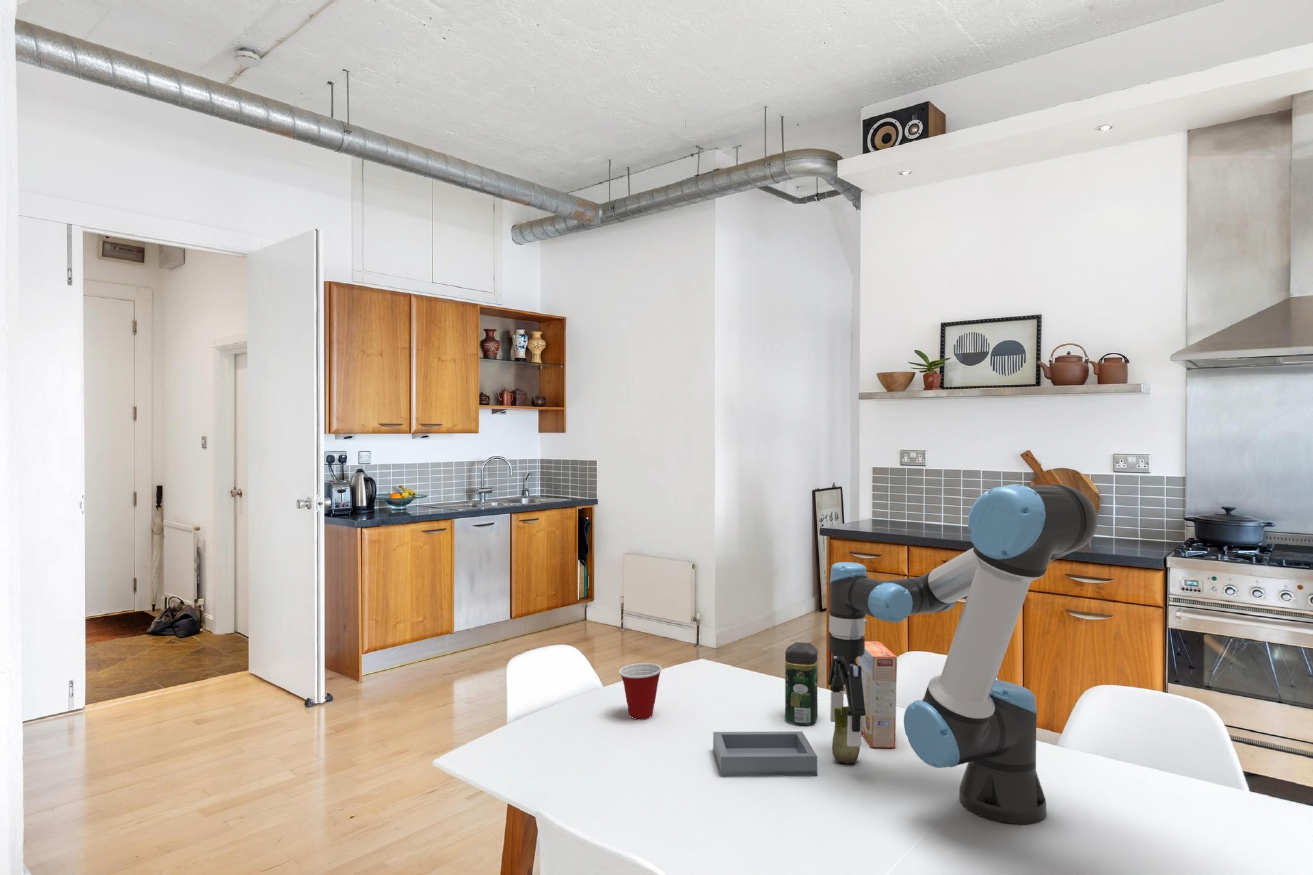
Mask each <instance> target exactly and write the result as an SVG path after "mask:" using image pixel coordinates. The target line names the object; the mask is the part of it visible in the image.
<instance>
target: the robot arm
mask: <svg viewBox="0 0 1313 875" xmlns="http://www.w3.org/2000/svg"><path fill="white" fill-rule="evenodd" d="M1097 527H1098V514H1097V511H1096V508H1095V506H1094V504H1093V502H1092V501H1091V499H1089V498H1088V496H1086V495H1085V493H1083V492H1082V491H1080V490H1078V489H1077V488H1074V487H1072V486H1069V485H1066V484H1038V485H1037V484H1036V485H1035V484H1033V485H1032V484H1030V485H1028V484H1027V485H1023V484H1017V483H1016V484H1015V483H1014V484H1008V485H1007V484H1006V485H1003V486H998V487H992V488H991V489H988V490H986V491H985V492H984V493H982V494H981V495H980V496H979V497H978V498H977V499H976V500H975V501H974V503H973V505H972V507H971V509H970V511H969V514H968V517H967V529H968V531H970V534H969V538H970V541H971V544H973V547H972V548H970V549H968V550H966V551H964V552H963V553H961V554H959V555H957V556H956V557H953V558H951V559H950V560H948V561H946V562H945V563H943V564H940V565H939V566H937V567H936V568H934V569H932V570H930V571H929V572H926V573H925V574H923V575H921V576H919V577H910V578H909V577H907V578H897V579H886V580H880V579H876V578H872V577H868V574H867V567H866V566H865V565H863V564H862V563H858V562H851V561H850V562H846V561H843V562H835V563H833V564H832V565H831V568H830V575H829V576H830V577H829V619H828V620H829V621H828V622H829V623H828V632H829V633H830V635H829V636H828V637H829V638H828V651H829V653H831V654H832V658H831V662H830V664H831V665H830V669H829V675H828V679H827V680H828V682H827V685H828V686H829V690H830V708H829V710H830V713H829V714H830V718H829V719H830V720H829V721H830V722H831V723H835V714H834V708H837V707H840V708H841V709H842V707H843V706H844V692H845V694H846V700H847V706H848V707H849V712H847V713H846V715H847V716H848V729H847V745H848V746H860V747H862V733H861V727H862V716H865V715H866V712H865V704H864V695H863V686H862V668H861V666H858V663H857V659H858V657H859V656H862V655H863V654H864V653H865V642H866V638H865V637H864V635H865V634H866V627H865V626H866V625H867V624H868V620H867V619H866V615H867V616H870V617H873V618H876V619H878V620H880V621H882V622H890V623H893V624H894V623H896V624H897V623H902V622H903V621H904V620H905V619H907V618H908V617H909V616H913V615H914V616H915V615H922V614H923V615H925V614H938V613H942V612H945V611H949V610H951V609H952V608H954V607H955V605H956V603H957V601H959V600H962V599H963V598H965V597H966V600H965V602H964V605H963V608H962V611H961V614H960V618H959V620H958V623H957V626H956V629H955V632H954V636H953V638H952V642H951V644H950V647H949V649H948V653H947V655H946V659H945V662H944V665H943V667H942V672H941V673H940V675H937V676H933V677H931V679H929V682H928V685H927V688H926V690H925V692H924V696H923V698H922V700H920V699H917V700H915V701H913V702H912V703H910V704H908V705H907V707H906V709H905V711H904V714H903V727H904V732H905V735H906V737H907V741H908V743H909V745H910V748H912V750H913V751H914V753H915V754H916V756H917V757H918V758H919V759H920V760H921V761H922V762H923V763H925V764H927V765H928V766H930V767H933V768H937V769H942V768H954V767H956V766H959V765H960V766H961V765H963V764H966V768H965V770H964V773H963V776H962V779H961V782H960V784H959V790H958V792H959V794H958V795H959V796H958V799H959V802H960V804H961V805H962V807H964V808H965V809H967V810H968V811H970V812H971V813H973V814H975V815H977V816H980V817H983V818H986V819H989V820H992V821H995V822H1000V823H1004V824H1005V823H1006V824H1015V825H1017V824H1019V825H1024V824H1025V825H1026V824H1033V823H1037V822H1040V821H1041V820H1043V819H1044V818H1045V817H1046V816H1047V801H1046V797H1045V794H1044V790H1043V787H1042V785H1041V781H1040V778H1039V775H1038V772H1037V715H1038V710H1037V699H1036V696H1035V695H1034V693H1033V692H1032V691H1031V690H1030V689H1029V688H1026V687H1024V686H1023V685H1022V686H1021V685H1019V684H1016V683H1012V682H1009V681H1004V680H999V679H997V676H998V674H999V672H1000V669H1001V666H1002V665H1003V664H1002V662H1003V660H1004V658H1005V656H1006V652H1007V649H1008V647H1009V644H1010V641H1011V639H1012V636H1013V634H1014V633H1013V632H1014V630H1015V627H1016V624H1017V622H1018V620H1019V616H1020V614H1021V611H1022V608H1023V606H1024V603H1025V600H1026V597H1027V594H1028V592H1029V589H1030V586H1031V583H1032V582H1033V581H1036V580H1038V579H1042V578H1043V577H1044V576H1045V575H1046V572H1047V569H1048V566H1049V564H1050V562H1053V561H1055V560H1057V559H1059V558H1062V557H1064V556H1066V555H1068V554H1071V553H1074V552H1076V551H1079V550H1080V549H1082V548H1083V547H1085V546H1086V545H1087V544H1088V543H1090V542H1091V540H1092V539H1093V537H1094V536H1095V533H1096V531H1097ZM856 709H858V710H856ZM841 715H842V711H841Z"/></svg>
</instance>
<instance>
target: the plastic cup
mask: <svg viewBox="0 0 1313 875" xmlns="http://www.w3.org/2000/svg"><path fill="white" fill-rule="evenodd" d="M662 670H663V668H662V666H661V665H659V664H656V663H653V662H652V663H650V662H640V663H632V664H627V665H624V666H622V667H621V668H619V670H618V674H619V676H620V677H621V679H622V682H623V683H622V684H623V686H624V693H625V698H626V704H627V710H628V714H629V715H630V716H631V717H633V718H636V719H635V720H638V719H644V718H649V717H650V716H653V714H654V710H655V709H654V707H655V703H656V698H657V692H658V685H659V679H660V674H661V672H662ZM630 716H629V717H630ZM631 717H630V718H631ZM633 718H632V719H633ZM649 719H650V718H649ZM644 720H645V719H644Z"/></svg>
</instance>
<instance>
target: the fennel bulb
mask: <svg viewBox="0 0 1313 875" xmlns="http://www.w3.org/2000/svg"><path fill="white" fill-rule="evenodd" d="M856 710H858V709H856ZM841 711H842V715H841ZM847 712H849V707H848V705H847V706H844V705H843V707H842V709H841V708H840V707H837V708H834V714H835V722H834V731H833V736H832V745H831V751H832V752H831V753H832V757H833V758H834V760H835V761H837V762H838V763H840V764H841V763H842V764H854V763H856V762H857V761H858V759H859V755H860V748H861V746H848V745H847V729H848V716H847V715H846V713H847Z"/></svg>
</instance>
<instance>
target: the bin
mask: <svg viewBox="0 0 1313 875" xmlns="http://www.w3.org/2000/svg"><path fill="white" fill-rule="evenodd" d="M712 733H713V734H712V735H713V736H712V746H713V747H712V751H713V754H714V758H715V762H716V765H717V768H718V771H719V776H720V777H804V776H805V777H807V776H808V777H809V776H810V777H811V776H813V777H817V776H818V755H817V754H816V753H817V752H816V751H815V750H814V748H813V747H812V745H811V743H810V742H809V740H808V738H807V737H806V735H805V734H804V732H803V731H801V730H800V731H799V730H798V731H793V730H792V731H790V730H789V731H788V730H787V731H713V732H712Z"/></svg>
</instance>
